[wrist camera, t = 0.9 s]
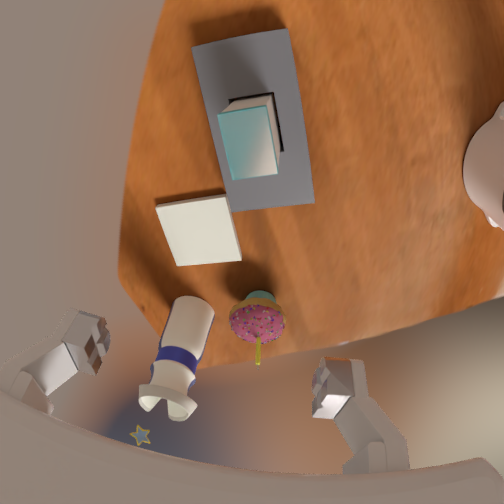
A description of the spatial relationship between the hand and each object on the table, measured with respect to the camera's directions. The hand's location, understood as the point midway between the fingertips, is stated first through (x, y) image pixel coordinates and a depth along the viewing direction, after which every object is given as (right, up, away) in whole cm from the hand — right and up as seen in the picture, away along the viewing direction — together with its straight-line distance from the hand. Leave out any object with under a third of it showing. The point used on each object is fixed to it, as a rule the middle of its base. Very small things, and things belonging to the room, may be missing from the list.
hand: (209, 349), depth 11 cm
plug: (+2, +19, +24) cm, 31 cm away
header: (+2, +19, +24) cm, 31 cm away
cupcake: (+3, -4, +41) cm, 41 cm away
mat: (-6, +6, +34) cm, 35 cm away
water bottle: (-8, -7, +44) cm, 45 cm away
